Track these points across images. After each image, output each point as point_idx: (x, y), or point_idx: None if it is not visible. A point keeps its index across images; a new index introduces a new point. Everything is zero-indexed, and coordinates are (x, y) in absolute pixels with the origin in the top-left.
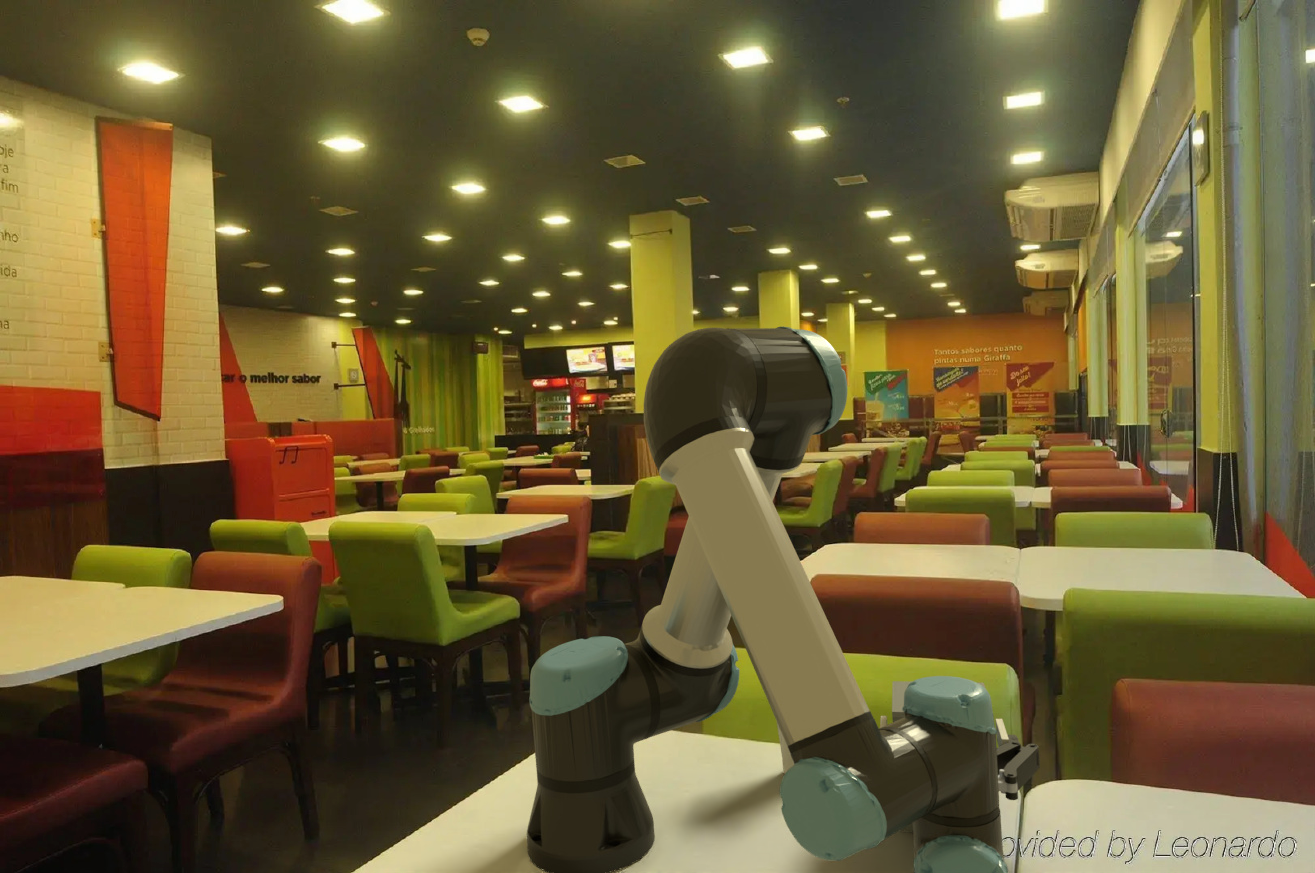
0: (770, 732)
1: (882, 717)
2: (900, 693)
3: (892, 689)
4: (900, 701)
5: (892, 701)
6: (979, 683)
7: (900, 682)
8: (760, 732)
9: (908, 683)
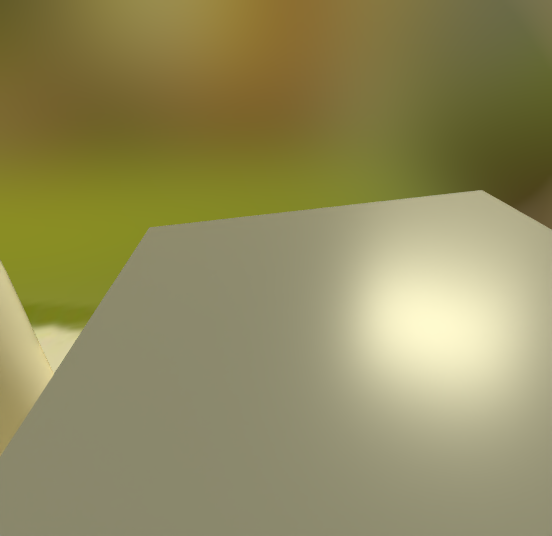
0: (47, 304)
1: None
2: (136, 311)
3: (115, 280)
4: (77, 432)
5: (12, 442)
6: (470, 196)
7: (175, 230)
8: (31, 307)
9: (204, 231)
